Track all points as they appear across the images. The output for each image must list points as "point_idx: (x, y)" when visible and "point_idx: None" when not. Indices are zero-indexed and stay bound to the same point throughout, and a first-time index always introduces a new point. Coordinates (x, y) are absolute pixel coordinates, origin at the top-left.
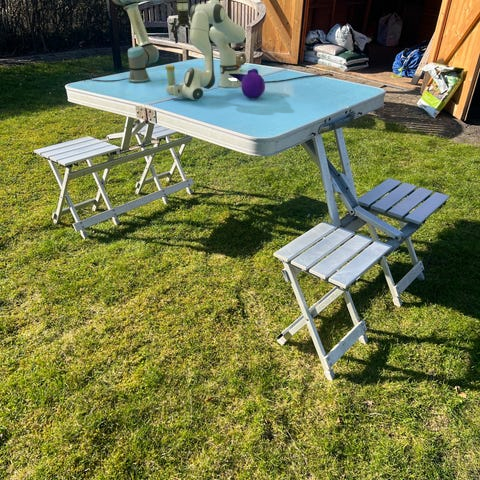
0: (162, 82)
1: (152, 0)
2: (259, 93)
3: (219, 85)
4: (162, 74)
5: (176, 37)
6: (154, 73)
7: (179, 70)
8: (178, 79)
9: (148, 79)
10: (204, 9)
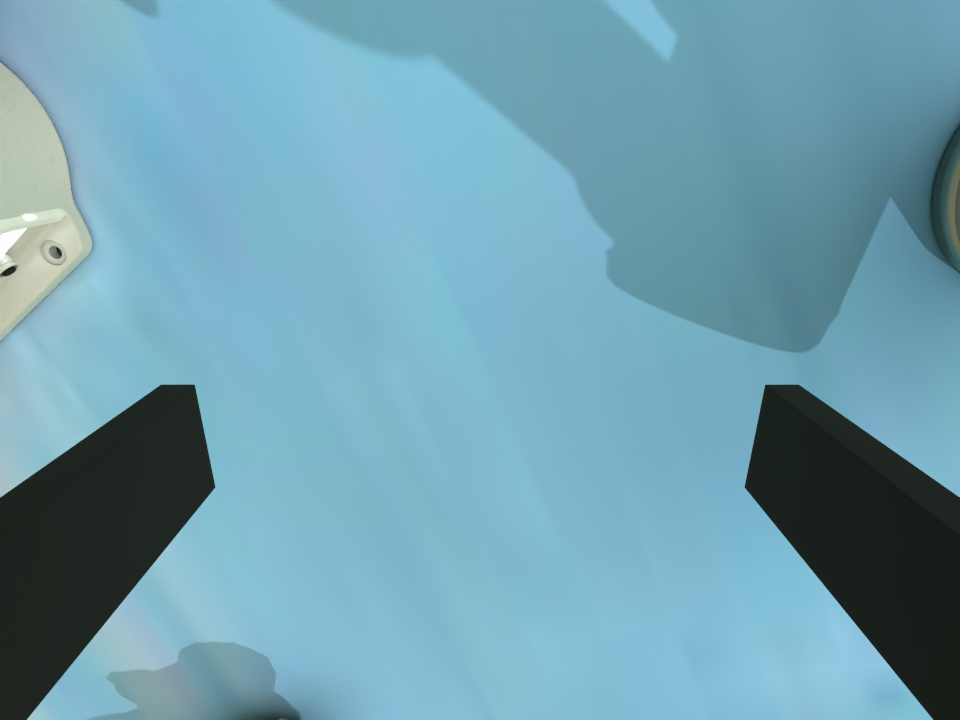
0: (754, 158)
1: None
2: None
3: (16, 81)
4: None
5: (866, 538)
6: None
7: (744, 694)
8: (626, 346)
9: (949, 181)
10: None
